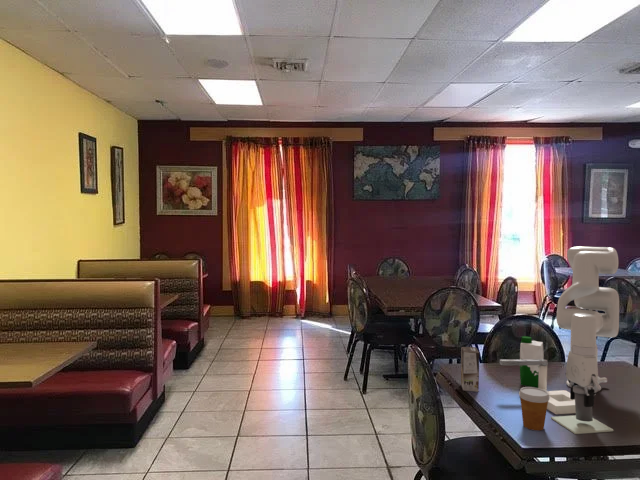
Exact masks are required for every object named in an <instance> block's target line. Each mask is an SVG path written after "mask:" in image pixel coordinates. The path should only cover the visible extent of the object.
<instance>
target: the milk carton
mask: <svg viewBox="0 0 640 480" xmlns="http://www.w3.org/2000/svg"><path fill="white" fill-rule="evenodd" d="M532 338H533V337H531V336H528V335H522V336H521V338H520V339H521V341H520V345H519V346H520V349H519V350H520V351H519V360H539V359H544V354H545V353H544V342H543V341H537V340H533V339H532ZM544 360H545V359H544ZM519 378H520V379H519V381H520V386H523V387H524V386H525V387H534V388H538V382H539V365H519Z"/></svg>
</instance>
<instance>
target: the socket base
mask: <svg viewBox="0 0 640 480" xmlns="http://www.w3.org/2000/svg"><path fill="white" fill-rule="evenodd" d="M547 384H548V365H547V366H542V365H539V382H538V388H539V389H543V390H545V391H547V392H548V395H549V397H550V399H549V401H548V405H547V410H548V411H550V412H552V413H553V414H555V415H569V414H576V412H575V400H572V399H570V392H569V391H567V390H566V389H565V390H563V389H560V390H548V389H547V387H548V385H547Z"/></svg>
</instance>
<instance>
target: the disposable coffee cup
mask: <svg viewBox="0 0 640 480" xmlns="http://www.w3.org/2000/svg"><path fill="white" fill-rule="evenodd" d="M519 389H520V390H519V392H518V395H519V397H520V407H521V416H522V417H521V418H522V425H523V427H524V428H526V429H528V430H531V431H539V432H540V431H542V430H544V429H545V422H546V416H547V410H548V409H547V405H548V401H549V399H550V397H549V395H548V392H547V391H548V390H547V391H545V390H543V389H539V388H536V387H530V386H525V387H524V386H523V387H521V388H519Z"/></svg>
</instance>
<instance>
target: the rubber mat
mask: <svg viewBox="0 0 640 480" xmlns="http://www.w3.org/2000/svg"><path fill="white" fill-rule="evenodd" d="M550 418H551V420H553V421H554V422H556V423H557V424H559V425H561V426H562V427H563V428H565V429H567V430H568V431H569V432H571V433H573V434H574V435H581V434H594V433H607V432H609V433H610V432H614V429H613V428H612V427H610V426H608V425H606V424H605V423H603V422H601V421H599V420H598V419H596V418H594V417H593V421H590V422H587V421H580V420H577V419H576V414H575V415H573V414H572V415H559V416H551V417H550Z"/></svg>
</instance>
